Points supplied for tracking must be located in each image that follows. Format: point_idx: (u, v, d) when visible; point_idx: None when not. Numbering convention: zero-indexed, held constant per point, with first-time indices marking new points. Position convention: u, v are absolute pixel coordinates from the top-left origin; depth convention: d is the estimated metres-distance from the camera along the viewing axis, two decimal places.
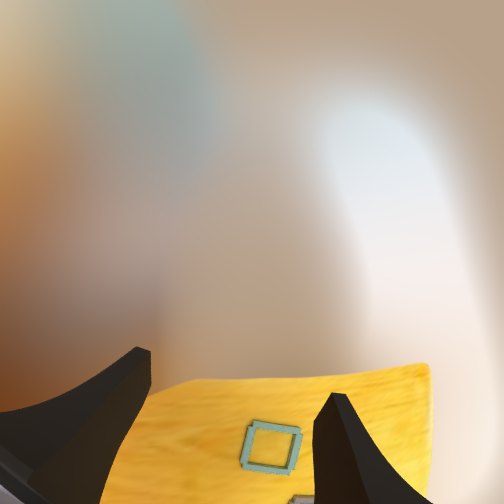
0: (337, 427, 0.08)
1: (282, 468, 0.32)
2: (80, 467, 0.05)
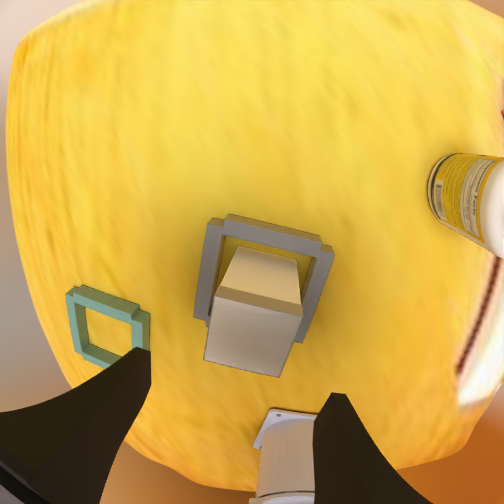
0: (337, 427, 0.08)
1: None
2: (80, 467, 0.05)
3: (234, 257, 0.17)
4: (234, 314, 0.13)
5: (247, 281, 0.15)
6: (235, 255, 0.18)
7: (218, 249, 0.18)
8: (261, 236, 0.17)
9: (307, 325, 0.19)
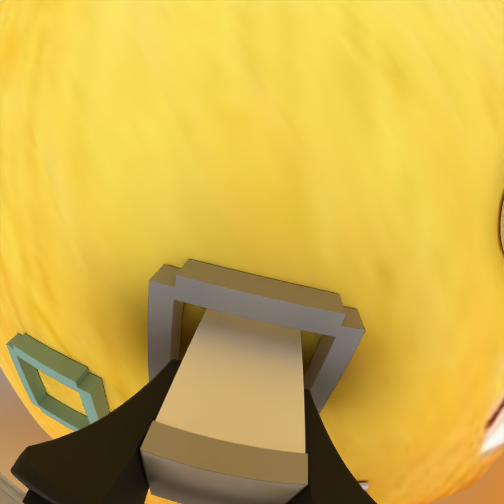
0: None
1: None
2: (130, 490, 0.05)
3: (195, 338, 0.10)
4: (182, 473, 0.05)
5: (209, 403, 0.07)
6: (197, 333, 0.10)
7: (171, 320, 0.10)
8: (240, 304, 0.10)
9: None
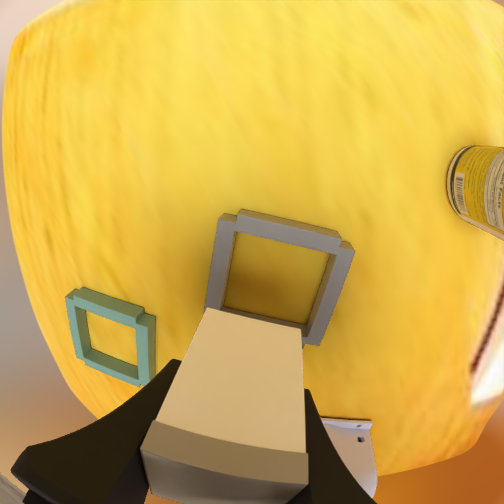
0: None
1: None
2: (130, 490, 0.05)
3: (195, 338, 0.10)
4: (182, 473, 0.05)
5: (209, 402, 0.07)
6: (198, 332, 0.10)
7: (230, 247, 0.17)
8: (277, 232, 0.16)
9: (325, 326, 0.18)
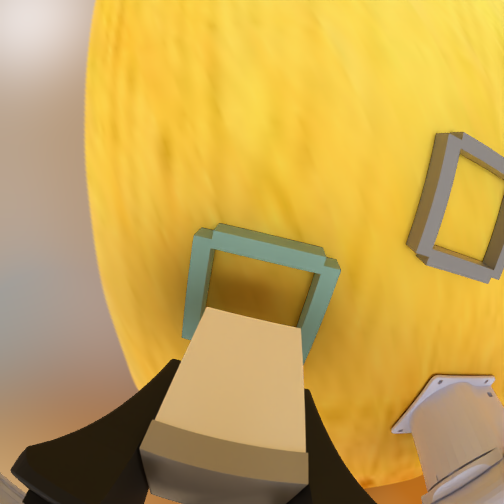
0: None
1: (316, 282, 0.16)
2: (130, 490, 0.05)
3: (195, 337, 0.10)
4: (181, 472, 0.05)
5: (209, 402, 0.07)
6: (197, 332, 0.10)
7: (455, 164, 0.12)
8: (489, 156, 0.11)
9: None
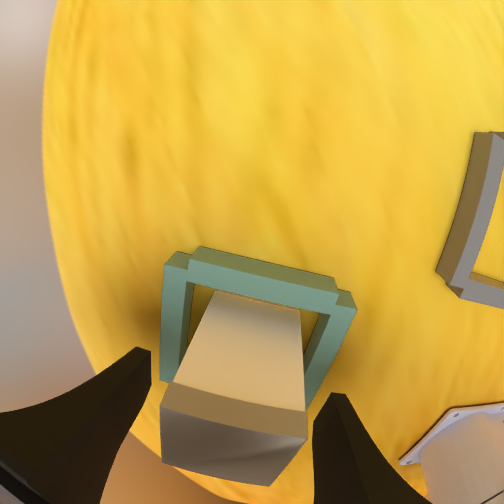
0: (337, 427, 0.08)
1: (324, 322, 0.12)
2: (80, 467, 0.05)
3: (205, 314, 0.11)
4: (195, 430, 0.07)
5: (220, 367, 0.09)
6: (208, 310, 0.11)
7: (500, 173, 0.08)
8: None
9: None
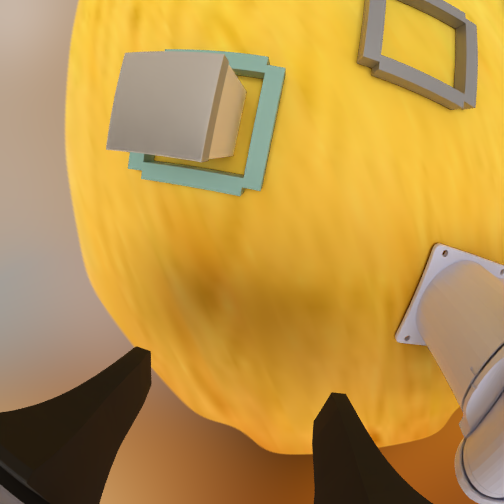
0: (337, 427, 0.08)
1: None
2: (80, 467, 0.05)
3: None
4: (143, 68, 0.08)
5: None
6: None
7: None
8: None
9: (475, 85, 0.11)
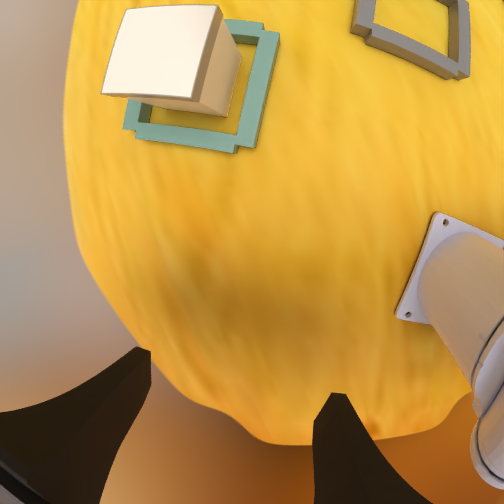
0: (337, 427, 0.08)
1: None
2: (80, 467, 0.05)
3: None
4: (142, 20, 0.08)
5: None
6: None
7: None
8: None
9: (469, 56, 0.10)
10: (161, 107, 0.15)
